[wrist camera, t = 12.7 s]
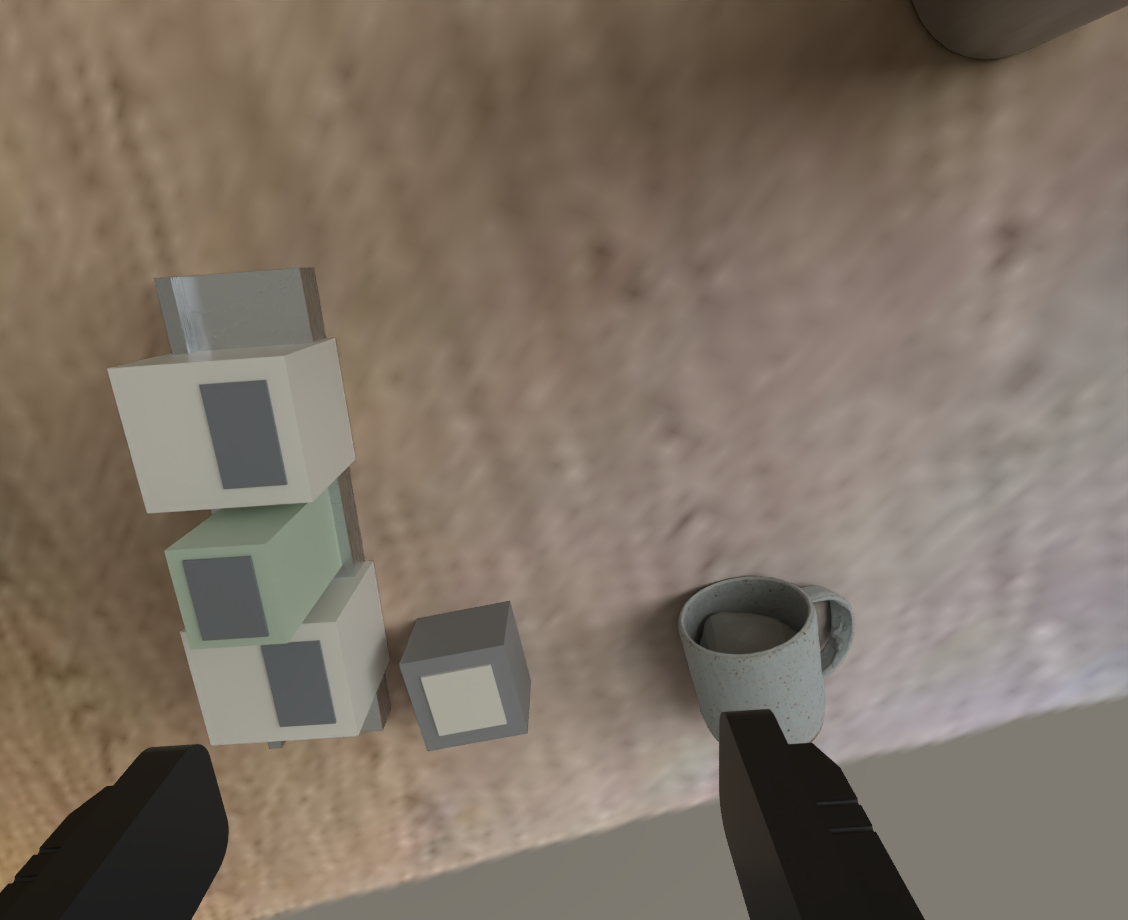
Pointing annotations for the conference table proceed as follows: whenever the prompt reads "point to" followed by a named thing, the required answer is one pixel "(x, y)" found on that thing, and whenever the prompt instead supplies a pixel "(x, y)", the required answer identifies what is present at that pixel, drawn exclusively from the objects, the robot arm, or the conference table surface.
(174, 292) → the rail
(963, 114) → the conference table surface
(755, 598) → the ceramic mug
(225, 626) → the module
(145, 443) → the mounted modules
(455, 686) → the block
